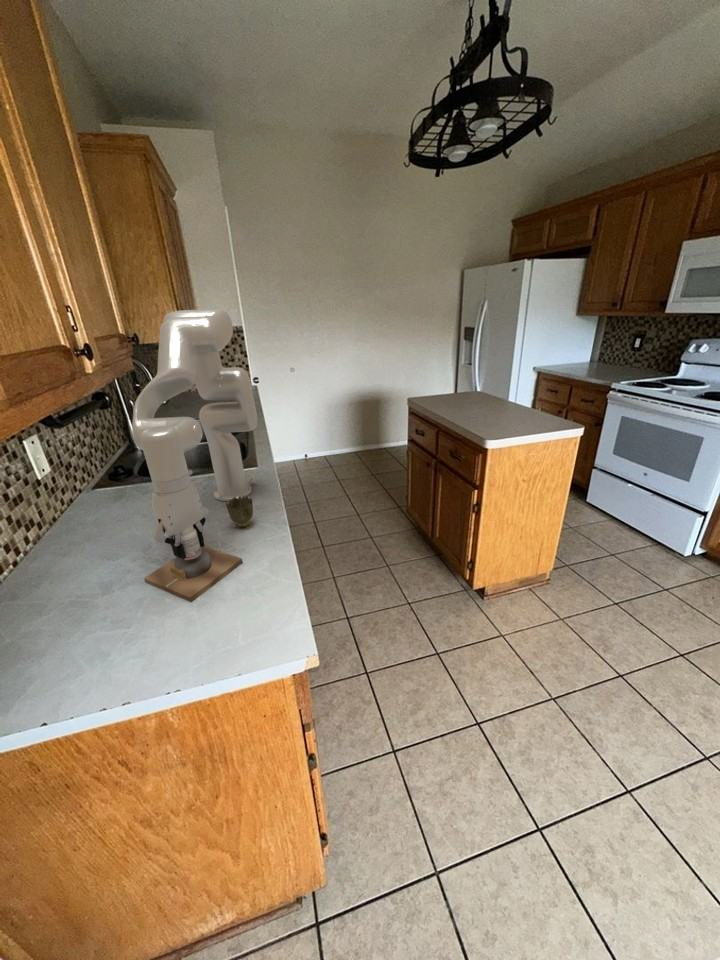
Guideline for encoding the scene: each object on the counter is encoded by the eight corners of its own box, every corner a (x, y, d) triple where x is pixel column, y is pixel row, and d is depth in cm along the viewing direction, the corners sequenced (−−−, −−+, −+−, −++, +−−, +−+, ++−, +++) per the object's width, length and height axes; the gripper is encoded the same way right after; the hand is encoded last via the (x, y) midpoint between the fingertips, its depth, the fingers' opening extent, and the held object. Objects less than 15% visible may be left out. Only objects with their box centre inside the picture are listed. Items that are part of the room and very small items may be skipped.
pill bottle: (178, 553, 95) (170, 523, 92) (198, 546, 98) (191, 517, 94) (183, 562, 92) (174, 532, 88) (203, 555, 94) (196, 525, 91)
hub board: (198, 547, 107) (195, 535, 105) (242, 562, 100) (240, 550, 98) (145, 582, 94) (141, 569, 92) (191, 602, 87) (187, 588, 85)
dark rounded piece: (249, 533, 112) (244, 508, 109) (225, 531, 114) (220, 506, 111) (260, 520, 119) (256, 496, 116) (238, 518, 121) (233, 495, 117)
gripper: (191, 466, 95) (206, 530, 103) (125, 495, 82) (148, 566, 89) (213, 471, 92) (227, 537, 100) (148, 502, 78) (170, 575, 86)
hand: (190, 550), depth 94 cm, fingers closed on pill bottle, 4 cm apart
